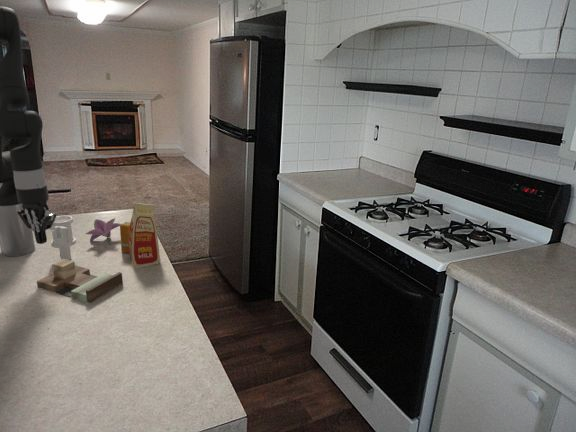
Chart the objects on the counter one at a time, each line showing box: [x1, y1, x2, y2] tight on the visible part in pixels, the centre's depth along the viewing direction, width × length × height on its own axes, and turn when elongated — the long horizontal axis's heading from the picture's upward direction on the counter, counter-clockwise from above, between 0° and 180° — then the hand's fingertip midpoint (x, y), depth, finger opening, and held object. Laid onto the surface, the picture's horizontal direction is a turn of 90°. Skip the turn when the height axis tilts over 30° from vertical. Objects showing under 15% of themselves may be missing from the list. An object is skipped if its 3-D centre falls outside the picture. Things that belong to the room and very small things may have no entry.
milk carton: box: [129, 202, 161, 269], centre depth 136 cm, size 9×9×20 cm
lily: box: [85, 217, 122, 246], centre depth 151 cm, size 12×12×10 cm
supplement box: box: [119, 221, 131, 254], centre depth 144 cm, size 3×3×10 cm
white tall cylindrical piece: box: [50, 215, 77, 261], centre depth 135 cm, size 7×7×15 cm
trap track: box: [36, 265, 124, 304], centre depth 121 cm, size 20×12×4 cm, turn 67°
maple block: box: [51, 259, 76, 280], centre depth 122 cm, size 4×4×4 cm
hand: (42, 242), depth 123 cm, fingers closed
